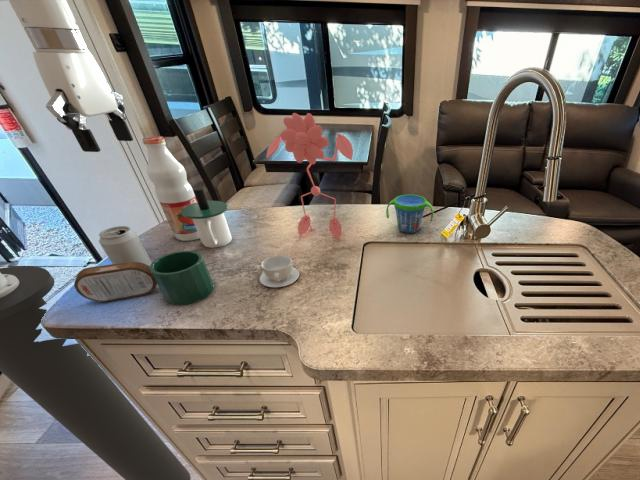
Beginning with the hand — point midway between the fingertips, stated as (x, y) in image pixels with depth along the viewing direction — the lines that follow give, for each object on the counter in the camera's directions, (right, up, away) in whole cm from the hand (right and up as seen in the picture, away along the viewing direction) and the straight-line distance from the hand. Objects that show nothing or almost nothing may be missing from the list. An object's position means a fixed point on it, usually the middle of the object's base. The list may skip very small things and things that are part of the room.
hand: (110, 145), depth 68 cm
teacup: (+30, -27, +16) cm, 44 cm away
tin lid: (+7, -7, +22) cm, 25 cm away
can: (-7, -26, +16) cm, 31 cm away
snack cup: (+65, -9, +41) cm, 77 cm away
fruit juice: (-4, -12, +34) cm, 36 cm away
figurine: (+36, -14, +33) cm, 50 cm away
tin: (-3, -32, +8) cm, 33 cm away
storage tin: (+10, -31, +10) cm, 34 cm away
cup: (+6, -16, +29) cm, 34 cm away
